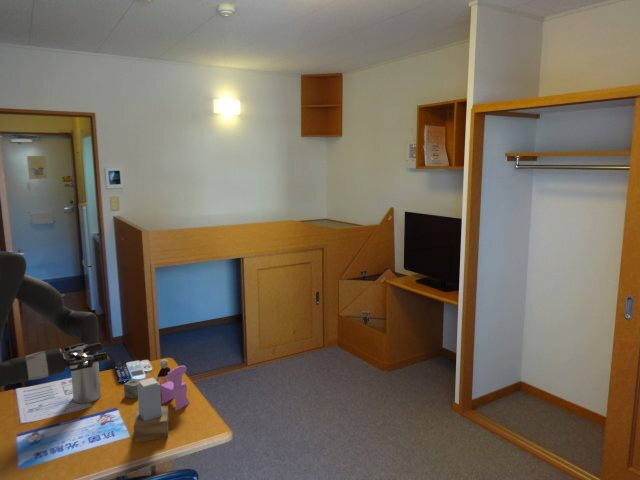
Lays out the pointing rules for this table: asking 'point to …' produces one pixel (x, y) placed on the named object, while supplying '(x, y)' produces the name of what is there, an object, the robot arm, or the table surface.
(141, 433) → the walnut block
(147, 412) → the slate-blue canister
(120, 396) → the table surface
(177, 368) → the toy chair
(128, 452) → the table surface
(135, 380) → the dice cube
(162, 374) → the grandmother figurine
